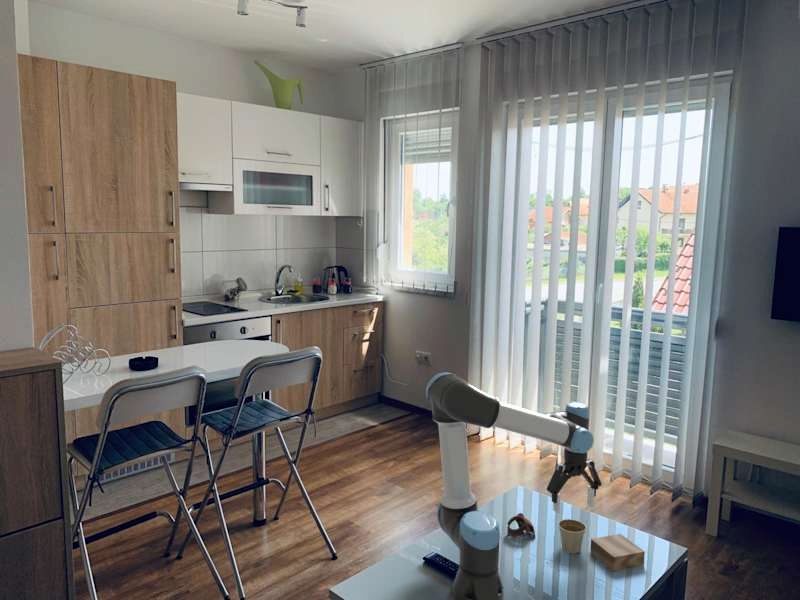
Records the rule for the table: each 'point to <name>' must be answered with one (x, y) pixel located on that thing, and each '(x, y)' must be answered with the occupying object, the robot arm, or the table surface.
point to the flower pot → (571, 535)
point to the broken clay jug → (520, 526)
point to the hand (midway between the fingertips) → (573, 508)
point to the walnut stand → (617, 552)
